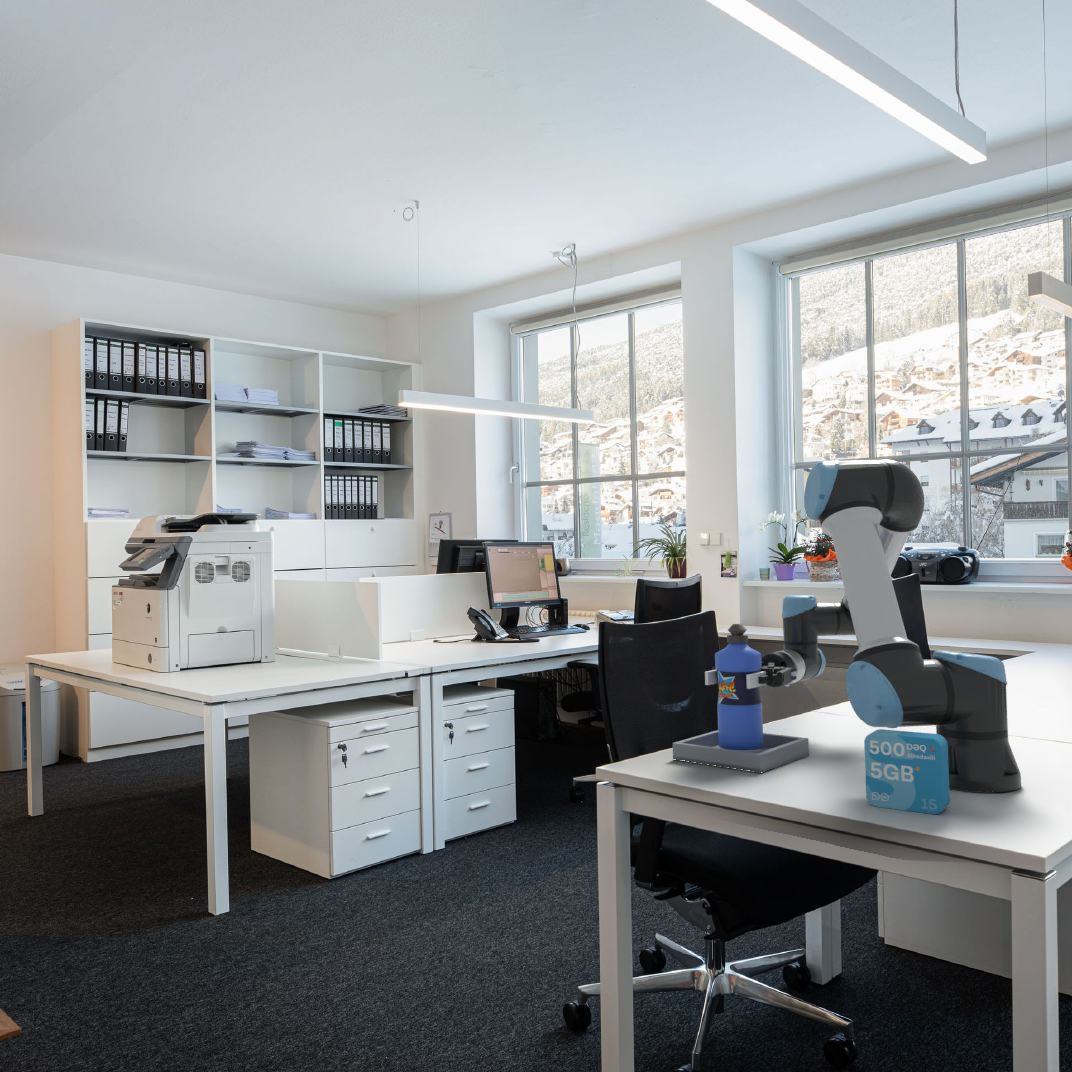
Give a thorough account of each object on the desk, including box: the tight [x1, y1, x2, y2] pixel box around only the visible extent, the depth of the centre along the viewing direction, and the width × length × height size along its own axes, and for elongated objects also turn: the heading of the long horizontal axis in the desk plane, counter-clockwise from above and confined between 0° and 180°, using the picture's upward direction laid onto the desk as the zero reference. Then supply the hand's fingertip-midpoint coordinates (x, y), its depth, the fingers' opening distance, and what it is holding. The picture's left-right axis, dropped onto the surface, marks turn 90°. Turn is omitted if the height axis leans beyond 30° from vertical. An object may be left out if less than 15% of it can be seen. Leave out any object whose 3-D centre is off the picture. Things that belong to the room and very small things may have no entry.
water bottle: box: [714, 623, 764, 750], centre depth 191 cm, size 9×9×25 cm
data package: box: [863, 728, 951, 815], centre depth 151 cm, size 12×4×12 cm, turn 54°
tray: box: [672, 729, 810, 774], centre depth 190 cm, size 20×20×4 cm
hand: (727, 680), depth 187 cm, fingers closed on water bottle, 9 cm apart
